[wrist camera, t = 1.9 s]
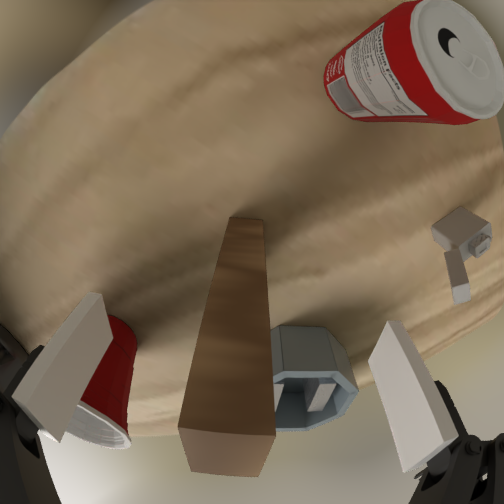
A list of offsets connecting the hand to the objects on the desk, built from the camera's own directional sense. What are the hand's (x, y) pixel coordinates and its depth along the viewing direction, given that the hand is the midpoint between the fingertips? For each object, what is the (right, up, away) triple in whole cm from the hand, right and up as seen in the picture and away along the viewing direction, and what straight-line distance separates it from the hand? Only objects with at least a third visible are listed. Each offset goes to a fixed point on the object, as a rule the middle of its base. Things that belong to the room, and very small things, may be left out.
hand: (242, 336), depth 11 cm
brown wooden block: (0, +4, +9) cm, 10 cm away
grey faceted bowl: (+5, -8, +15) cm, 18 cm away
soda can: (+8, +15, +4) cm, 18 cm away
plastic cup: (-14, -5, +14) cm, 21 cm away
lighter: (+17, +6, +9) cm, 20 cm away
